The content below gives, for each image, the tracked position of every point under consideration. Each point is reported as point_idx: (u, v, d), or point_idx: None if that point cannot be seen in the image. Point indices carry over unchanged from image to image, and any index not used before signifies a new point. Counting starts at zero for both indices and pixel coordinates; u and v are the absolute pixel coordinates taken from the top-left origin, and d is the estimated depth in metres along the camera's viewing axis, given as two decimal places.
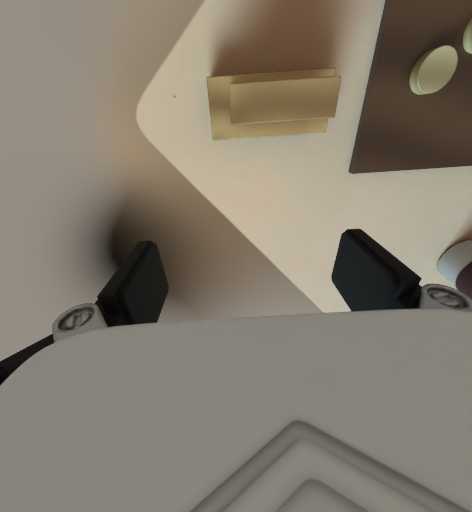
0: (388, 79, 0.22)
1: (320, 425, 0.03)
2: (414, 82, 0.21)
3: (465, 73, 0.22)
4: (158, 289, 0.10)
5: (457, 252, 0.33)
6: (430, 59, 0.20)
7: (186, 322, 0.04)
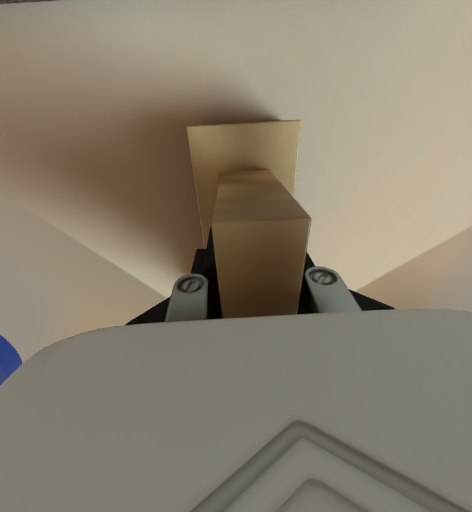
0: None
1: (320, 425, 0.03)
2: None
3: None
4: None
5: None
6: None
7: (186, 322, 0.04)
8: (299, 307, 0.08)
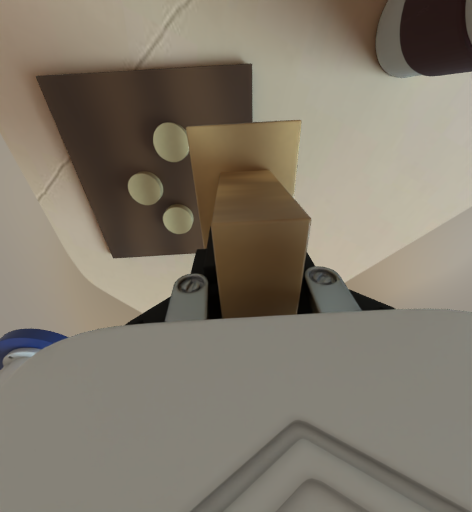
0: (187, 244, 0.29)
1: (320, 425, 0.03)
2: None
3: (175, 185, 0.25)
4: None
5: (390, 67, 0.19)
6: (172, 229, 0.27)
7: (186, 322, 0.04)
8: (299, 307, 0.08)
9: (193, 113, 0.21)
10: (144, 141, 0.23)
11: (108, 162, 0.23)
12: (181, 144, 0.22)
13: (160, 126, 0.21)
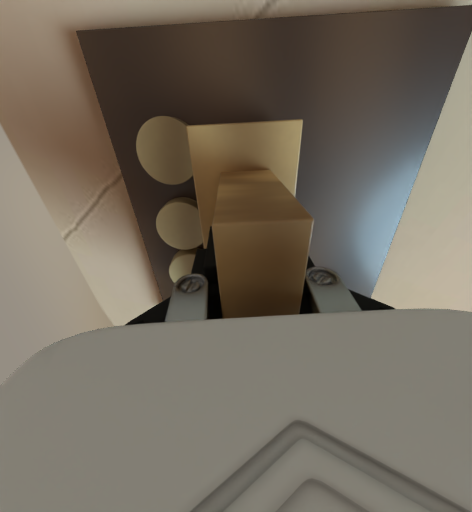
0: None
1: (320, 425, 0.03)
2: None
3: None
4: None
5: None
6: None
7: (186, 322, 0.04)
8: None
9: (345, 101, 0.12)
10: None
11: (184, 184, 0.14)
12: (186, 157, 0.12)
13: (152, 121, 0.11)
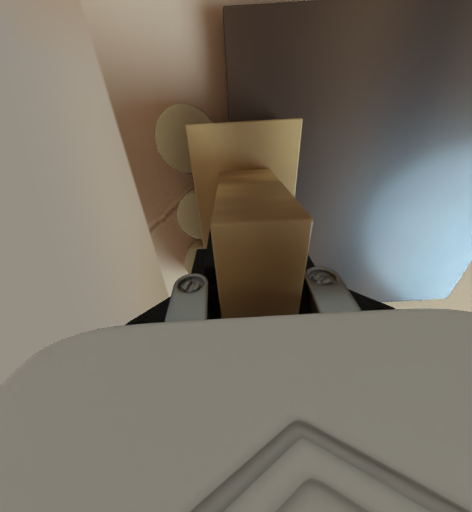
0: (355, 291, 0.20)
1: (320, 425, 0.03)
2: None
3: (383, 209, 0.15)
4: None
5: None
6: None
7: (186, 322, 0.04)
8: None
9: None
10: (370, 137, 0.13)
11: None
12: None
13: (173, 108, 0.12)
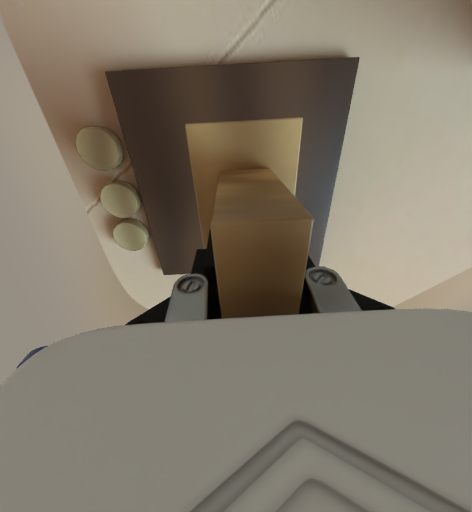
0: None
1: (320, 425, 0.03)
2: None
3: None
4: None
5: None
6: (125, 246, 0.25)
7: (186, 322, 0.04)
8: None
9: (281, 115, 0.18)
10: None
11: (174, 171, 0.21)
12: (109, 154, 0.19)
13: (85, 129, 0.18)
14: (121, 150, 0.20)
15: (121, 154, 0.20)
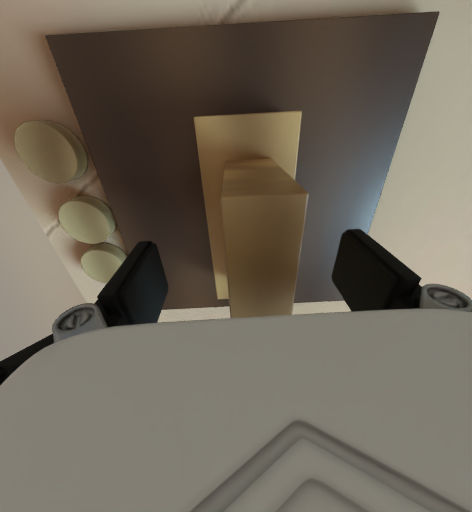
0: None
1: (320, 425, 0.03)
2: None
3: None
4: (158, 289, 0.10)
5: None
6: (99, 278, 0.19)
7: (186, 322, 0.04)
8: None
9: (311, 105, 0.13)
10: None
11: (158, 183, 0.15)
12: (64, 160, 0.14)
13: (25, 124, 0.13)
14: (83, 155, 0.14)
15: (82, 160, 0.14)
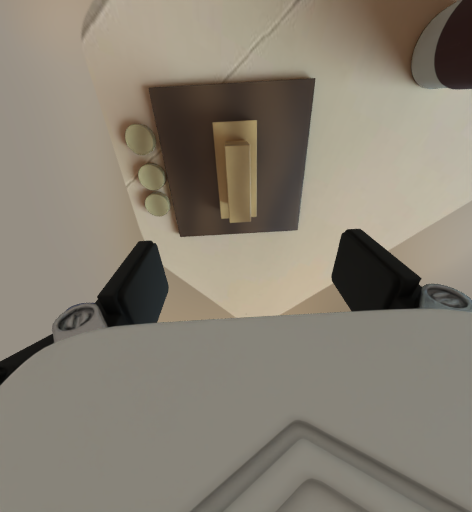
0: (243, 224, 0.35)
1: (320, 425, 0.03)
2: None
3: None
4: (158, 289, 0.10)
5: (423, 81, 0.25)
6: (153, 212, 0.33)
7: (186, 322, 0.04)
8: None
9: (265, 116, 0.27)
10: None
11: (191, 155, 0.29)
12: (147, 143, 0.28)
13: (132, 125, 0.27)
14: (154, 140, 0.29)
15: (154, 143, 0.29)
